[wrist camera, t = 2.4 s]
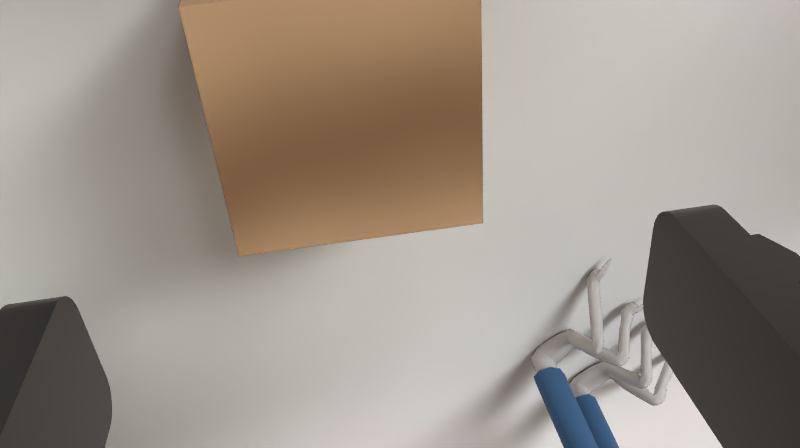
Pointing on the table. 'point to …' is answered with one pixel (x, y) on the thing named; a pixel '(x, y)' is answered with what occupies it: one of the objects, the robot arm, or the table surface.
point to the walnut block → (340, 116)
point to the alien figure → (593, 375)
